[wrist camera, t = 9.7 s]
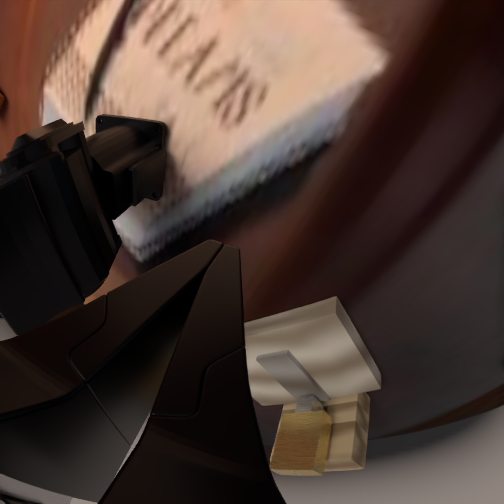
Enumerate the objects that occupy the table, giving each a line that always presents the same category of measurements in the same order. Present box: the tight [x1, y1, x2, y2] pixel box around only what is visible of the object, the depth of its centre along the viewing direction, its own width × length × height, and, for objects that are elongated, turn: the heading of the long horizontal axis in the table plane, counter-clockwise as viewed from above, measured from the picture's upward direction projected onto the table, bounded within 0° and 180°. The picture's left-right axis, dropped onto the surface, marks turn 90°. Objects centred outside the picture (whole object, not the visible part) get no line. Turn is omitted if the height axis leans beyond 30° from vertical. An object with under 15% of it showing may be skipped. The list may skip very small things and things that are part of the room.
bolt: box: [270, 396, 332, 476], centre depth 28 cm, size 7×5×9 cm
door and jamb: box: [244, 296, 381, 471], centre depth 29 cm, size 19×16×10 cm
